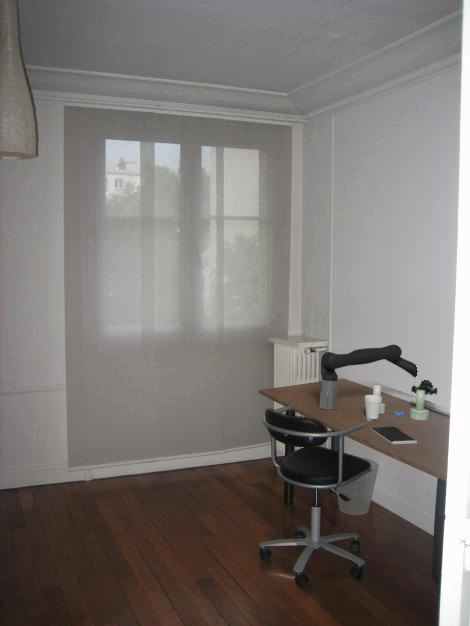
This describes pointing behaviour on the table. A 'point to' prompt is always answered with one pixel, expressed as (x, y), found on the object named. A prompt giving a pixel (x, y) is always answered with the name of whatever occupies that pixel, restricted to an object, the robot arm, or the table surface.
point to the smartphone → (393, 435)
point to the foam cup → (372, 406)
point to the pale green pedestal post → (419, 407)
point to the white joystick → (378, 392)
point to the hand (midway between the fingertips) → (423, 392)
